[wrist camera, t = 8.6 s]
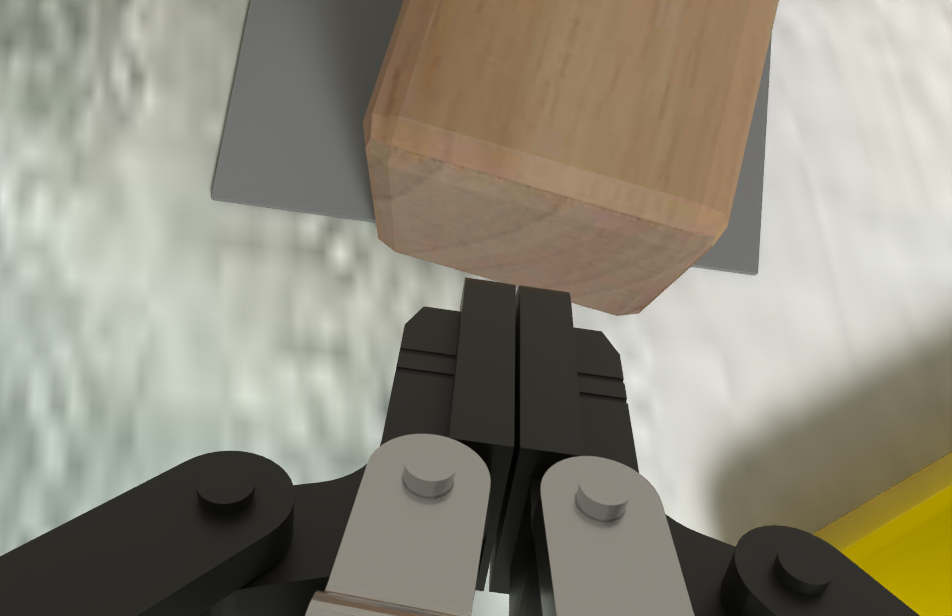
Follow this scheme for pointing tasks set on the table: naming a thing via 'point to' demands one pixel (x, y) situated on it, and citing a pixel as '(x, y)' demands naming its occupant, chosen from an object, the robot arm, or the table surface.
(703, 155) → the wooden block
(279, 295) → the table surface
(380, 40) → the mat
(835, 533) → the yellow labelled tile
